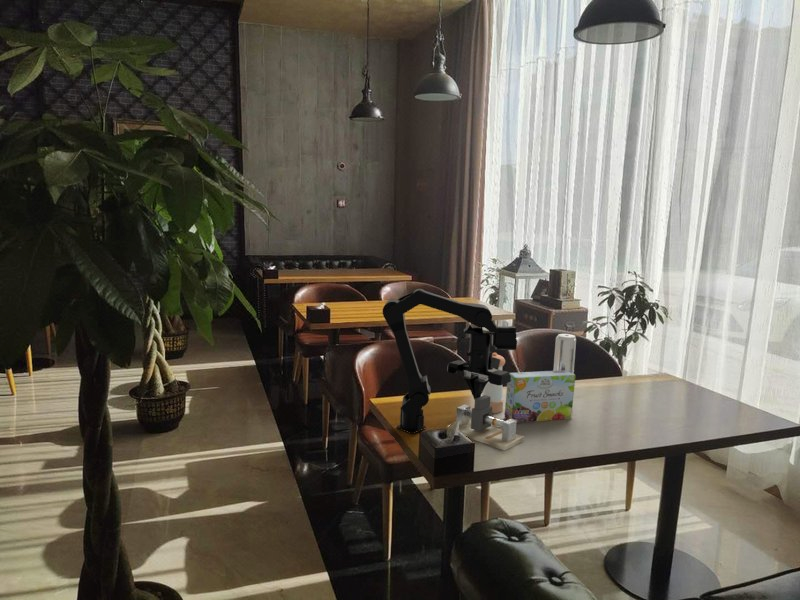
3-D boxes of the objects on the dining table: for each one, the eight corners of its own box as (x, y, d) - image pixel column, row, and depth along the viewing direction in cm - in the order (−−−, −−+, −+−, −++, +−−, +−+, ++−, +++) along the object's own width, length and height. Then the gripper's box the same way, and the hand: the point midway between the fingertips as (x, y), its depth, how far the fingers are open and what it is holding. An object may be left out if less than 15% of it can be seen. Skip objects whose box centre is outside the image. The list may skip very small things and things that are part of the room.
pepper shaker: (496, 414, 181) (499, 357, 178) (476, 409, 185) (479, 352, 182) (506, 409, 187) (510, 352, 184) (487, 404, 191) (490, 349, 188)
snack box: (512, 424, 173) (515, 377, 171) (503, 418, 178) (506, 372, 176) (572, 419, 179) (576, 373, 177) (562, 413, 184) (566, 368, 182)
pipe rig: (456, 424, 168) (456, 407, 168) (464, 421, 171) (464, 404, 170) (507, 442, 156) (508, 424, 155) (515, 438, 159) (516, 420, 158)
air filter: (568, 404, 193) (574, 333, 189) (572, 411, 186) (578, 337, 182) (549, 403, 193) (554, 332, 189) (552, 410, 187) (558, 336, 183)
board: (447, 429, 167) (447, 425, 167) (467, 421, 174) (467, 417, 174) (504, 450, 154) (505, 446, 153) (523, 440, 161) (524, 436, 161)
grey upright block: (470, 428, 163) (472, 398, 162) (482, 423, 168) (484, 394, 166) (479, 431, 161) (481, 401, 160) (491, 426, 166) (492, 396, 164)
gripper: (522, 350, 162) (519, 402, 165) (469, 339, 174) (466, 387, 177) (501, 356, 154) (498, 411, 156) (447, 344, 166) (445, 395, 169)
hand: (476, 400), depth 165 cm, fingers closed
